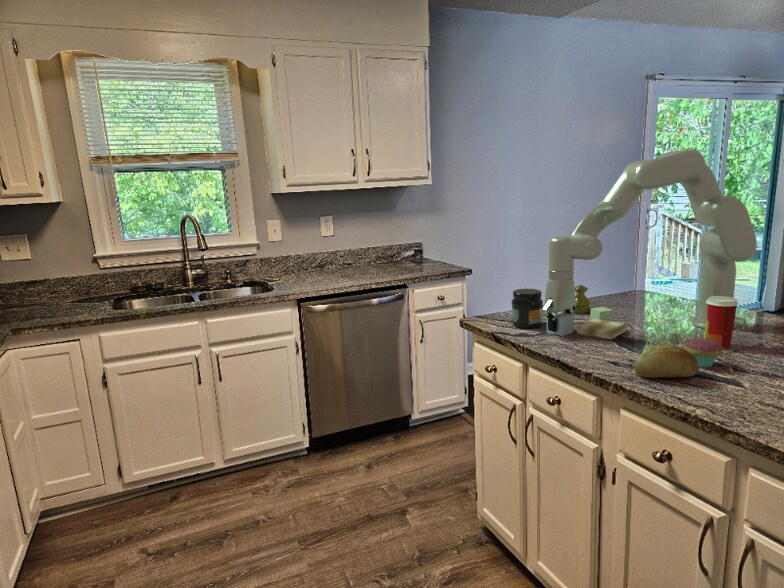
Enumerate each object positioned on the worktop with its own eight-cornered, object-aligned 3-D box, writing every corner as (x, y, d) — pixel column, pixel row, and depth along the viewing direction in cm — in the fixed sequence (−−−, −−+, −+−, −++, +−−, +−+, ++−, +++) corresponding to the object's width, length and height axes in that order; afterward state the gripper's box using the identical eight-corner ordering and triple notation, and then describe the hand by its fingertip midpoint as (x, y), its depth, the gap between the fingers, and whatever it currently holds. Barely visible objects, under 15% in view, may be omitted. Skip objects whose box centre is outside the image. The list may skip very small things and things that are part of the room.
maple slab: (625, 332, 165) (625, 323, 164) (611, 340, 158) (611, 331, 157) (592, 326, 173) (592, 318, 172) (576, 334, 165) (577, 325, 165)
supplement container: (549, 326, 174) (549, 292, 172) (522, 331, 171) (522, 296, 168) (531, 319, 184) (531, 286, 181) (505, 323, 181) (505, 290, 178)
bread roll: (707, 383, 122) (710, 351, 121) (642, 384, 124) (644, 353, 122) (688, 369, 132) (691, 339, 130) (628, 370, 133) (629, 340, 132)
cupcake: (689, 356, 140) (692, 314, 137) (725, 363, 134) (729, 319, 131) (678, 365, 134) (681, 321, 131) (716, 373, 128) (720, 327, 125)
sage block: (612, 324, 173) (612, 310, 172) (599, 326, 172) (599, 311, 171) (602, 320, 178) (603, 306, 177) (590, 322, 177) (590, 308, 176)
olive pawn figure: (566, 310, 194) (566, 284, 192) (584, 308, 195) (585, 282, 192) (575, 315, 187) (575, 288, 185) (594, 313, 187) (595, 286, 185)
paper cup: (729, 342, 149) (734, 295, 146) (737, 350, 142) (742, 302, 139) (699, 341, 152) (702, 295, 149) (705, 349, 145) (709, 301, 142)
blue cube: (573, 332, 167) (574, 314, 165) (561, 336, 163) (562, 318, 162) (558, 328, 172) (558, 311, 170) (546, 332, 168) (546, 314, 167)
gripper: (568, 270, 171) (567, 321, 175) (533, 277, 162) (533, 331, 166) (588, 272, 165) (586, 325, 169) (553, 280, 156) (552, 336, 159)
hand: (560, 328), depth 167 cm, fingers open, 7 cm apart
